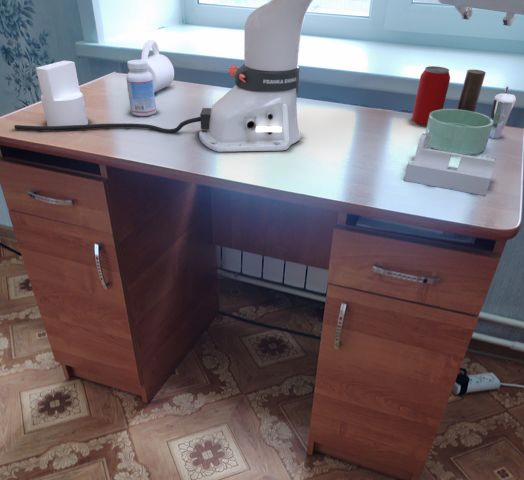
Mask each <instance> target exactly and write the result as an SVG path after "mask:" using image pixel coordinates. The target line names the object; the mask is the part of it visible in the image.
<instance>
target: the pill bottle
mask: <svg viewBox="0 0 524 480" xmlns="http://www.w3.org/2000/svg"><path fill="white" fill-rule="evenodd" d="M126 62H127V63H126V64H127V69H128V70H130V72H129V71H128V72H127V73H126V76H125V77H126V78H125V79H126V86H127V92H128V93H127V94H128V100H129V101H128V102H129V107H130V108H129V109H130V113H131V114H132V115H133V116H137V117H150V116H153V115H155V114H156V113H157V105H156V97H155V93H154V86H153V78H152V75H151V73H150V72H148V71H147V69H148V62H147V61H146V60H141V59H131V60H128V61H126Z"/></svg>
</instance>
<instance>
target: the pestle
mask: <svg viewBox="0 0 524 480" xmlns="http://www.w3.org/2000/svg"><path fill="white" fill-rule="evenodd" d="M485 77H486V71H484V70H480V69H467V70H466V75H465V77H464V81H463V85H462V89H461V92H460V96H459V100H458V104H457V108H456V109H460V110H468V111H473V112H476V108H477V105H478V101H479V97H480V94H481V90H482V87H483V84H484V80H485Z"/></svg>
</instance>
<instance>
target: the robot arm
mask: <svg viewBox="0 0 524 480" xmlns="http://www.w3.org/2000/svg"><path fill="white" fill-rule="evenodd" d="M313 1H314V0H270V1H268V2H267V3H265V4H263V5H261V6H259V7H257V8H256V9H254V10H253V11H252V12H251V13H250V14H249V15H248V16H247V18H246V21H245V23H244V47H243V48H244V55H243V56H244V57H243V59H244V63H243V64H242V65H241V66H240V67H237V66H236V65H234V64H231V65H229V67H228V70H227V71H228V74H229V76H231V77H232V78H234V80H235V81H234V83H235V85H233V87H232V88H231V89H230V90H229V91H227V92H226V93H225V94H224V95H223V96H222V97H220V98H219V99H218V100H216V102H215V103H214V104H213V105H212V106H211V107H202V108H201V111H200V114H199V116H197V117H192V118H189V119H185V120H183V121H181V122H180V123H179V124H178V125H177V126H176V127H175V128H174V127H173V128H163V127H160V126H157V125H152V124H147V123H129V122H128V123H125V122H123V123H120V122H119V123H93V124H87V125H71V126H48V125H43V126H42V125H21V124H14V130H21V131H22V130H24V131H71V130H91V129H112V128H113V129H114V128H115V129H117V128H127V129H128V128H129V129H130V128H131V129H148V130H152V131H156V132H160V133H165V134H175V133H178V132H179V131H181V129H183V128H184V127H185V126H187V125H189V124H194V123H199V122H200V130H199V132H198V133H199V135H198V136H199V137H198V138H199V140H200V141H201V144H203V145H204V146H205V147H206V148H208V149H210V150H212V151H214V152H221V153H224V152H227V153H228V152H270V151H271V152H272V151H273V152H275V151H287V150H288V149H289V148H290V147H291V146H292V145H294V144H295V143H298V142H299V141H300V140H301V133H300V128H299V121H298V120H299V119H298V107H297V106H298V104H297V102H298V101H297V97H298V94H299V87H300V66H299V55H300V52H299V51H300V44H301V43H300V42H301V37H302V29H303V25H304V22H305V18H306V15H307V12H308V10H309V8H310V6H311V5H312V3H313ZM437 1H438V3H440V4H441V5H450V6H454V8H455V9H456V11H458V12H459V14H460V16H461V20H467V21H468V20H470V19H471V17H472V16H473V9H479V10H484V11H485V10H486V11H493V12H501V13H505V16H504V17H503V19H502V25H503V26H507V27H511V26H512V25H513V23H514V21H515V19H516V18H515V15H521V16H524V0H437Z"/></svg>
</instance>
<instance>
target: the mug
mask: <svg viewBox="0 0 524 480" xmlns="http://www.w3.org/2000/svg"><path fill="white" fill-rule="evenodd" d="M151 49H152V53H153V54H152V55H150V51H151ZM149 55H150V56H149ZM140 56H141V57H140V60H146V61H147V62H148V69H147V71H148V72H150V73H151V75H152V78H153V86H154V94H155V93H156V92H159V91H161V90H163V89H165V88H167V87H169V86H170V85H171V84H173V82H174V78H175V68H174V66H173V64H172V62H171V60H170V58H168V57H167V56H166V55H164V54H162V53H160V49H159V46H158V43H157V42H156V41H155V40H154V39H153V40H152V39H150V40H147V41H145V43H144V44H143V47H142V50H141V55H140ZM128 70H129V69H128ZM129 72H130V70H129V71H128V73H129Z"/></svg>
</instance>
